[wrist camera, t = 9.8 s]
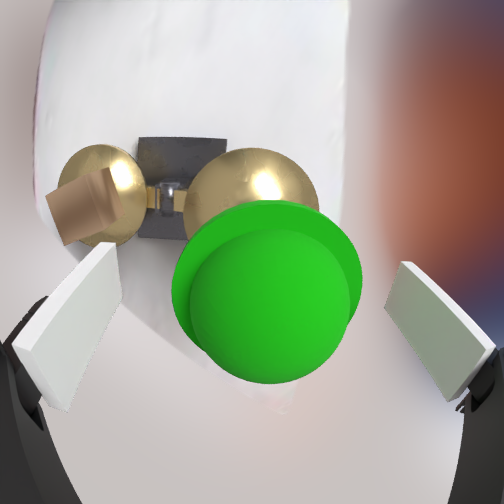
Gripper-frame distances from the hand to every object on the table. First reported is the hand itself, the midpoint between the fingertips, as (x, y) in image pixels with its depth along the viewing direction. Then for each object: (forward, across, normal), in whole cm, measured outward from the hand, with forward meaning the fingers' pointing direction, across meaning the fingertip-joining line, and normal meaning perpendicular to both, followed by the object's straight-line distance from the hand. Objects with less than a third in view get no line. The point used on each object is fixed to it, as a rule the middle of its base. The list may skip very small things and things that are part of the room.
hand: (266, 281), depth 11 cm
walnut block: (+15, -15, -1) cm, 21 cm away
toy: (+11, 0, 0) cm, 11 cm away
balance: (+22, -8, -1) cm, 23 cm away
